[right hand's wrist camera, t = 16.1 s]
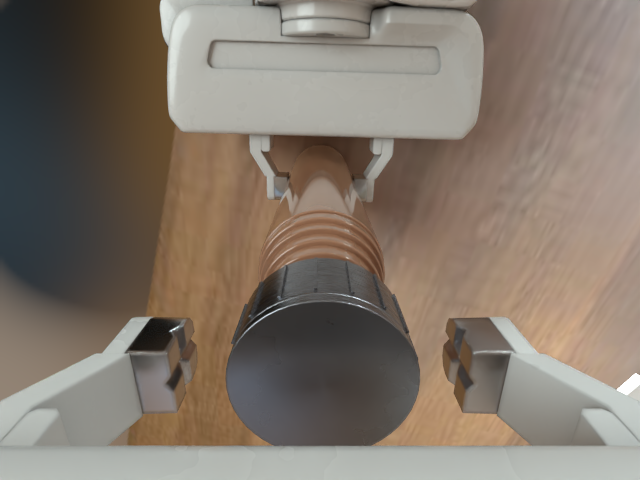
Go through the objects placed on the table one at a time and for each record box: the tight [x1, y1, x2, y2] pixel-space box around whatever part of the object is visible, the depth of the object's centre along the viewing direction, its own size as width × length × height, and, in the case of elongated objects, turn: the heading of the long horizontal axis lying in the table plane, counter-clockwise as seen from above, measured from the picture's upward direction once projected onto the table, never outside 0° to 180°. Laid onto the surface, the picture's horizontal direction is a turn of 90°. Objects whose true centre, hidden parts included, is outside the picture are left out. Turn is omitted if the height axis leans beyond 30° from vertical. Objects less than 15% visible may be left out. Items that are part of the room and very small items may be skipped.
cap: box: [226, 257, 420, 446], centre depth 10 cm, size 5×5×2 cm
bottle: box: [258, 145, 385, 283], centre depth 21 cm, size 5×5×26 cm
